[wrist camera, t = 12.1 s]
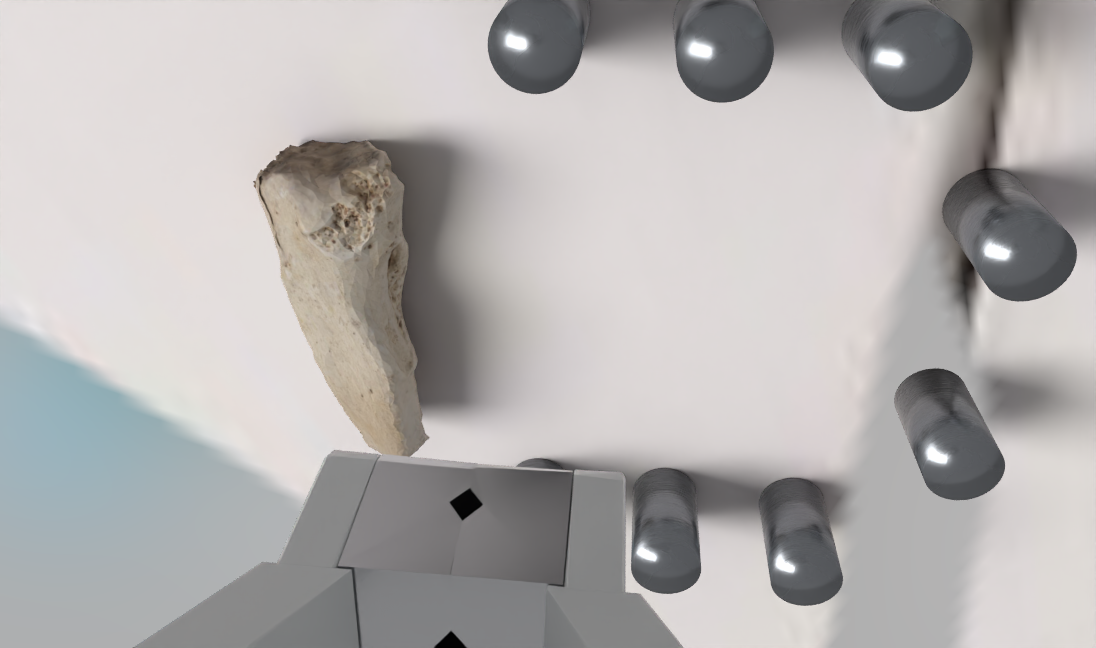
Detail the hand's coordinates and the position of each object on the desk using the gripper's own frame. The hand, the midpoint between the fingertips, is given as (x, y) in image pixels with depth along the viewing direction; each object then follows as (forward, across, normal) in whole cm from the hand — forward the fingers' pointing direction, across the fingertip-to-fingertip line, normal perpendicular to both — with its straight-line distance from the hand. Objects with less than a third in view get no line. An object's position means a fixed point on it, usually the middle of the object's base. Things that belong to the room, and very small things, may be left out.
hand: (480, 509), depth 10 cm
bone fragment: (+28, +8, +12) cm, 32 cm away
